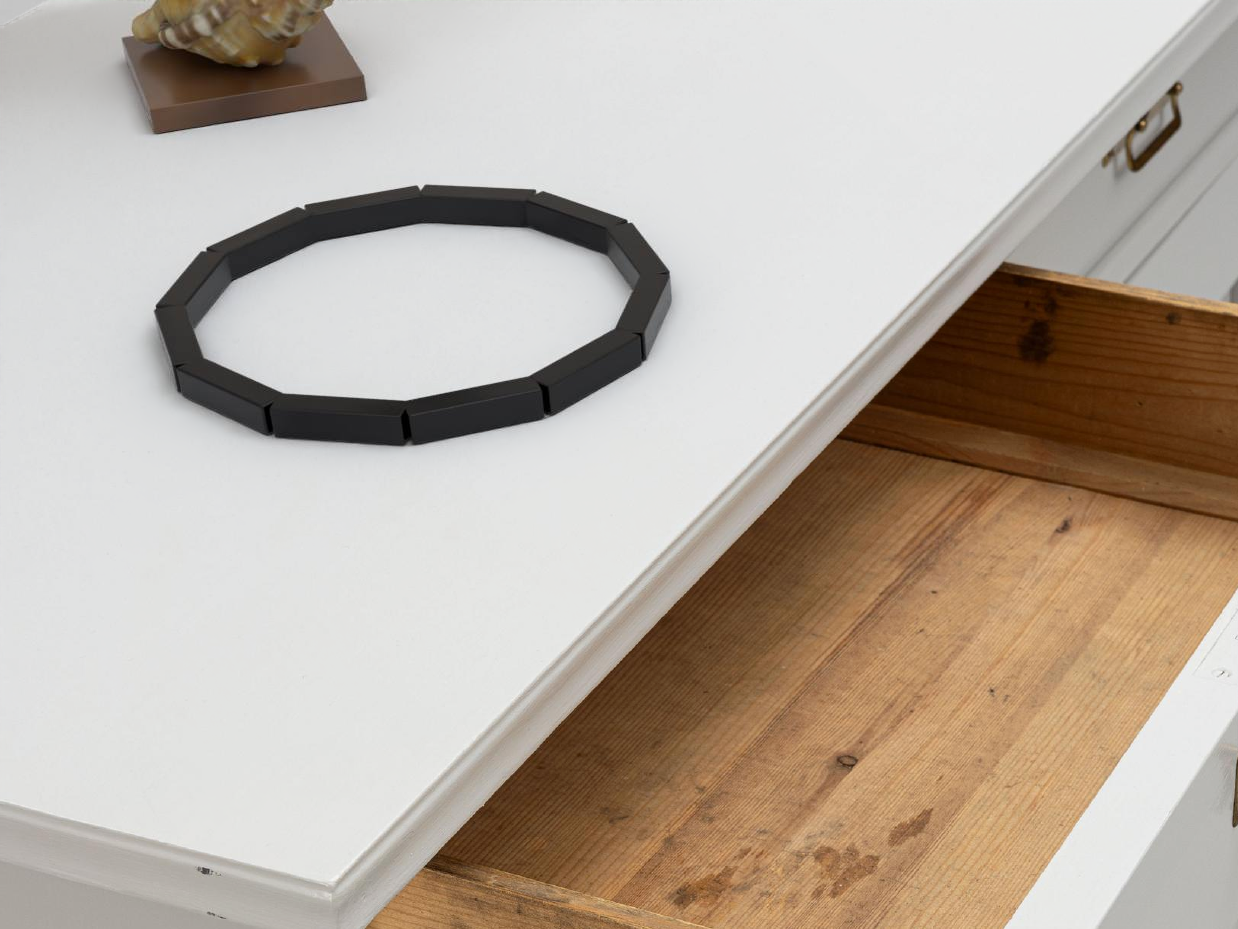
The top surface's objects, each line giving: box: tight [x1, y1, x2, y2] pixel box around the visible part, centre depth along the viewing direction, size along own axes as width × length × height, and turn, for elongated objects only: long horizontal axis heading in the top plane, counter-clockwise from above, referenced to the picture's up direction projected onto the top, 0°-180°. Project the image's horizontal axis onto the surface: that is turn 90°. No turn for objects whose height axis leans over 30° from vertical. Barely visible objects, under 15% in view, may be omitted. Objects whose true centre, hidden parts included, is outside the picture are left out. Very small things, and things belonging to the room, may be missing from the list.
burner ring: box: [153, 184, 673, 446], centre depth 86 cm, size 19×19×1 cm
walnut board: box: [121, 9, 368, 134], centre depth 106 cm, size 10×10×1 cm
